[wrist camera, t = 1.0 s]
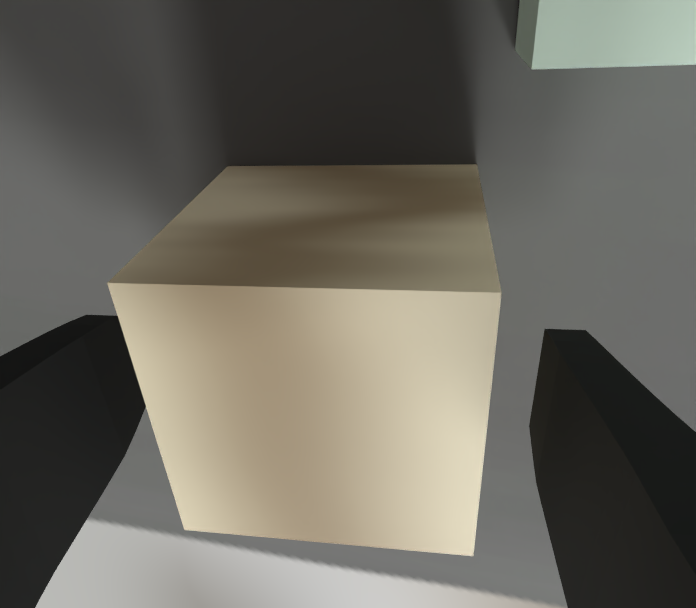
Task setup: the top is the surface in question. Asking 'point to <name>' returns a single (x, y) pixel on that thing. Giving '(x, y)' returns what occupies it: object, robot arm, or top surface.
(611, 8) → the pale green slab
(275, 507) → the maple cube
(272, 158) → the top surface
